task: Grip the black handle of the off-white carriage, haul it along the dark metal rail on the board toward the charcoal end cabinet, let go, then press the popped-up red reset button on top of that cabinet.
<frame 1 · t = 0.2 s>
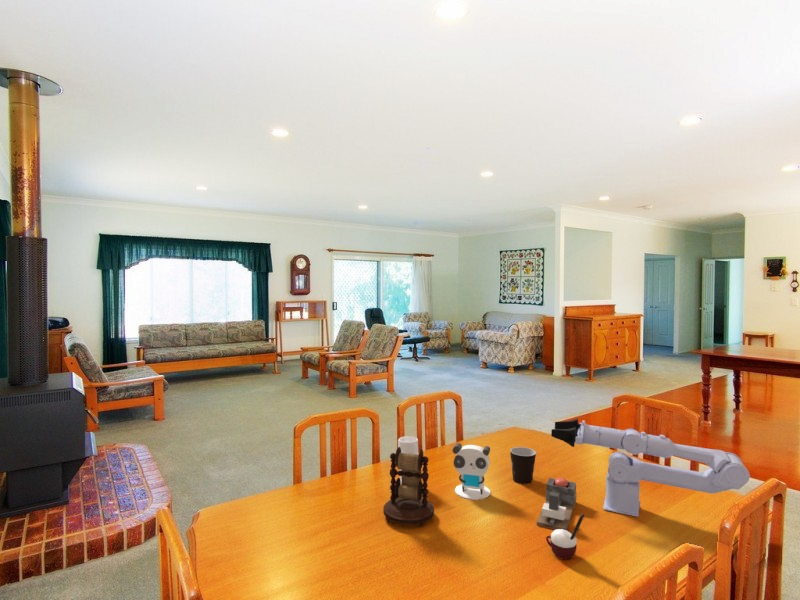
hand: (553, 428, 152), 21 cm above the table, tool horizontal, fingers open, 7 cm apart
coffee mug: (524, 479, 166), on the table
reset button: (561, 483, 148), point 6 cm above the table, slide at 0.0 cm
panda figurine: (471, 492, 156), on the table
cocoa: (563, 556, 120), on the table
dark brown wooden stand: (408, 517, 139), on the table
carriage: (554, 504, 136), point 5 cm above the table, slide at -6.0 cm
rail board: (557, 512, 142), on the table
drinking glass: (407, 483, 161), on the table
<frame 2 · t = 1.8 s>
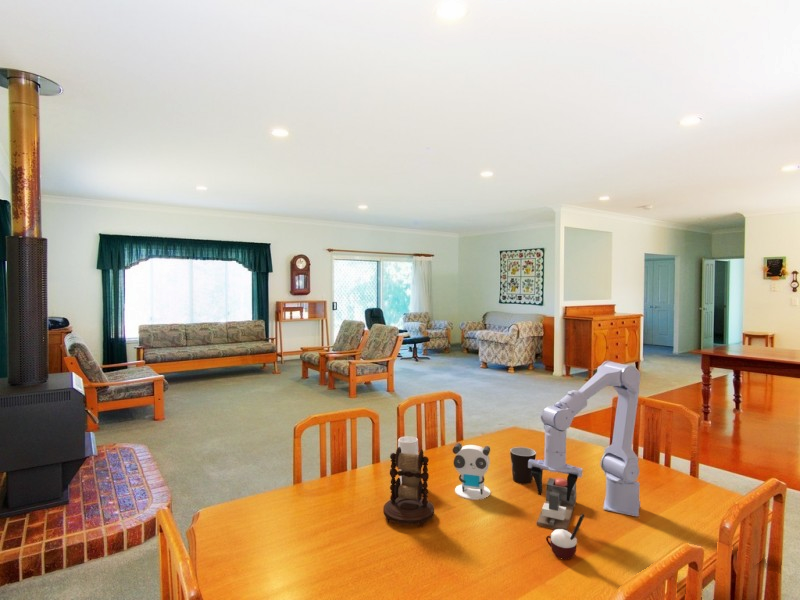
hand: (554, 496, 136), 7 cm above the table, tool pointing down, fingers open, 7 cm apart
nothing on the table moved.
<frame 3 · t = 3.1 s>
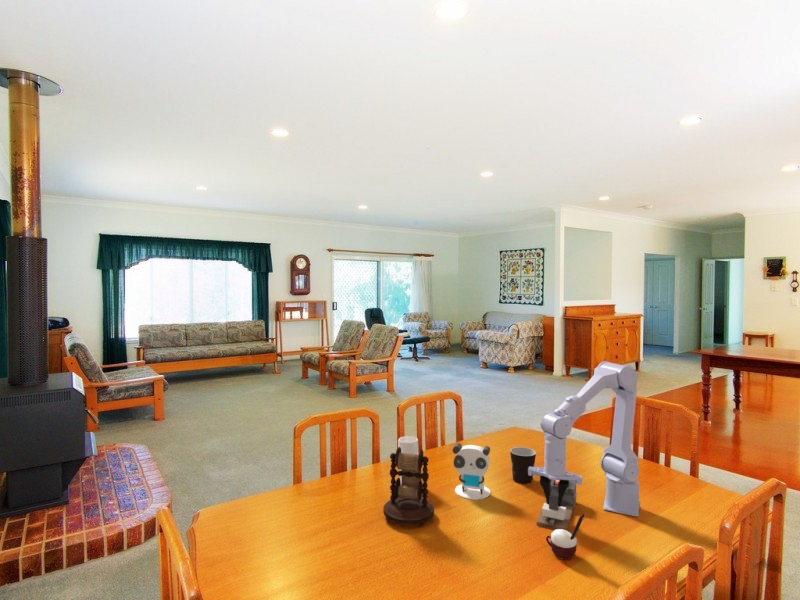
hand: (554, 504, 136), 5 cm above the table, tool pointing down, fingers closed on carriage, 2 cm apart
carriage: (554, 504, 136), point 5 cm above the table, slide at -6.0 cm, touching gripper
everything else where it was.
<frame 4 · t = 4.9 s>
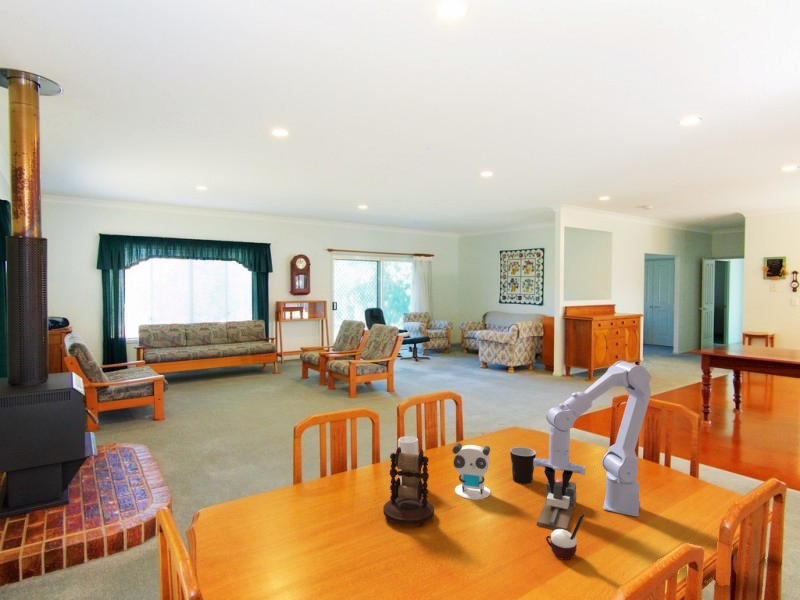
hand: (558, 493, 143), 5 cm above the table, tool pointing down, fingers closed on carriage, 2 cm apart
carriage: (558, 494, 142), point 5 cm above the table, slide at 1.3 cm, touching gripper
everything else where it was.
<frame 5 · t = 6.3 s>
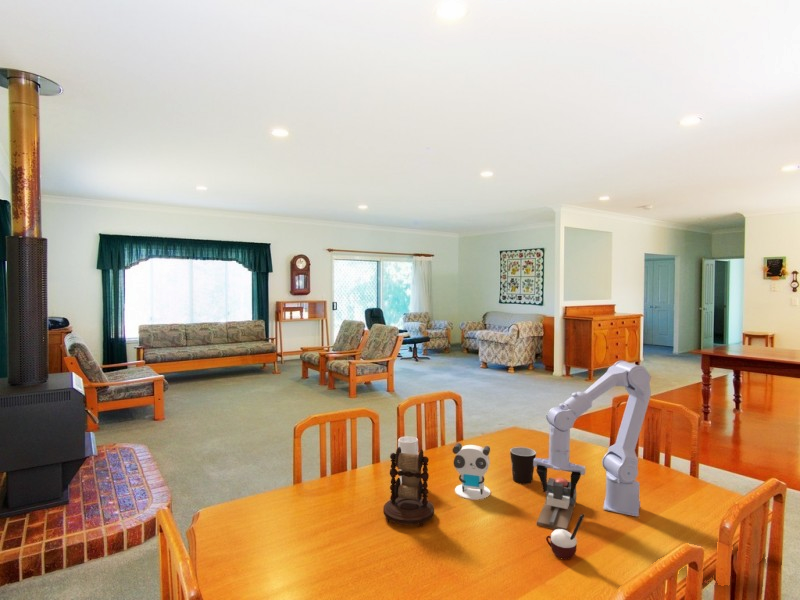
hand: (558, 493, 143), 5 cm above the table, tool pointing down, fingers open, 7 cm apart
carriage: (558, 494, 142), point 5 cm above the table, slide at 1.3 cm
everything else where it was.
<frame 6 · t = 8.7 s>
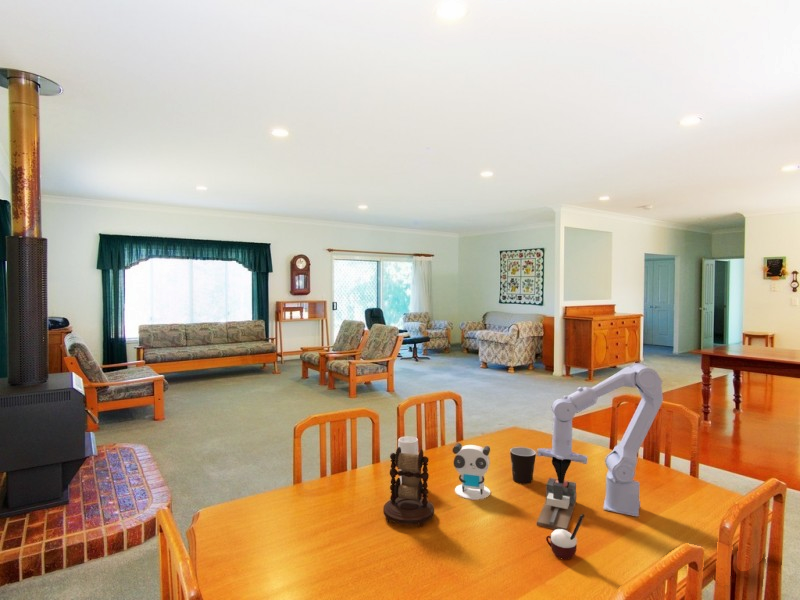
hand: (561, 482, 148), 6 cm above the table, tool pointing down, fingers closed, pressing on reset button
reset button: (561, 485, 148), point 6 cm above the table, slide at 0.5 cm, touching gripper
everything else where it was.
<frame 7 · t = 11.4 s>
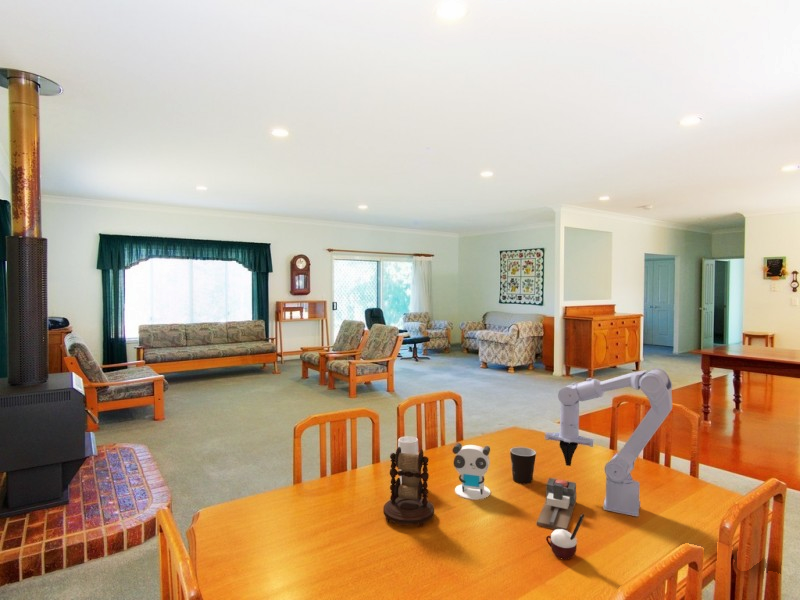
hand: (568, 464, 154), 9 cm above the table, tool pointing down, fingers closed
reset button: (561, 485, 148), point 6 cm above the table, slide at 0.5 cm
everything else where it was.
at the end: carriage slide at 1.3 cm; reset button slide at 0.5 cm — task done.
